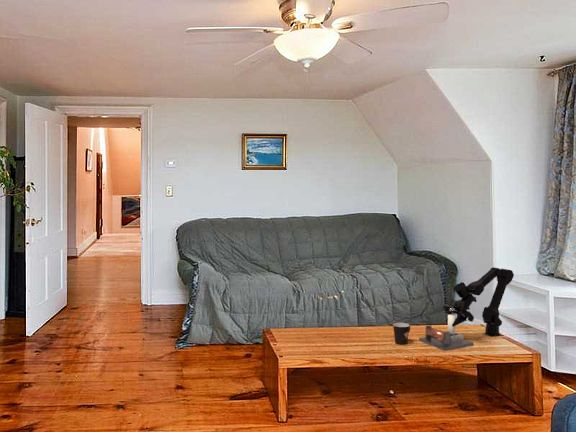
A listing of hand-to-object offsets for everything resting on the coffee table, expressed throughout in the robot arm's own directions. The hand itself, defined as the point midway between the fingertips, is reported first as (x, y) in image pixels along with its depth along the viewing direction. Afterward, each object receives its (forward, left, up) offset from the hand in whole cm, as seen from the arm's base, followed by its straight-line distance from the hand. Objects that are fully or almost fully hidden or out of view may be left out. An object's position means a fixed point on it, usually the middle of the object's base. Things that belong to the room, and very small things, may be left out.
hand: (449, 325), depth 282 cm
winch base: (+3, +1, -9) cm, 10 cm away
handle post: (-1, 0, -7) cm, 7 cm away
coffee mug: (+25, -4, -10) cm, 27 cm away
